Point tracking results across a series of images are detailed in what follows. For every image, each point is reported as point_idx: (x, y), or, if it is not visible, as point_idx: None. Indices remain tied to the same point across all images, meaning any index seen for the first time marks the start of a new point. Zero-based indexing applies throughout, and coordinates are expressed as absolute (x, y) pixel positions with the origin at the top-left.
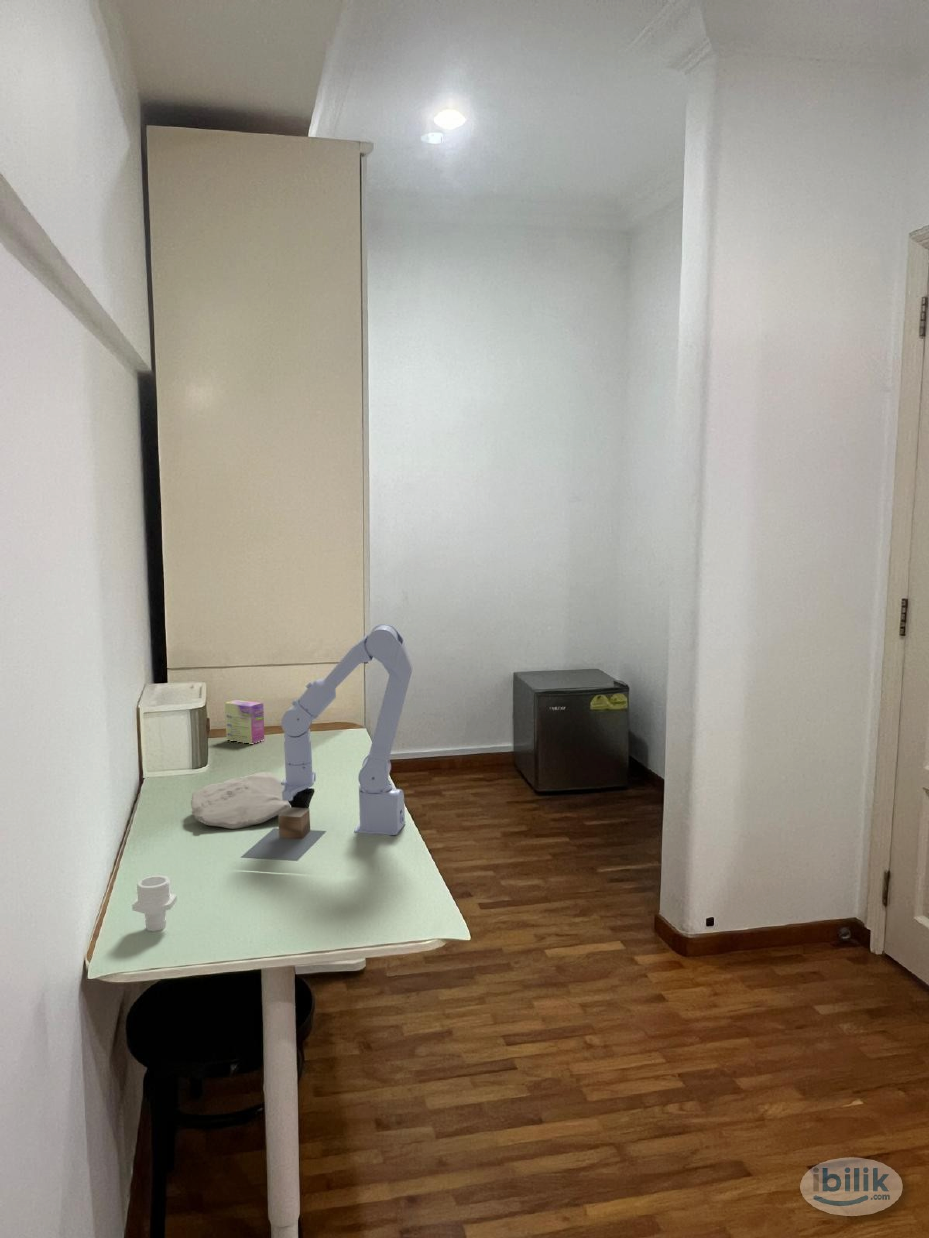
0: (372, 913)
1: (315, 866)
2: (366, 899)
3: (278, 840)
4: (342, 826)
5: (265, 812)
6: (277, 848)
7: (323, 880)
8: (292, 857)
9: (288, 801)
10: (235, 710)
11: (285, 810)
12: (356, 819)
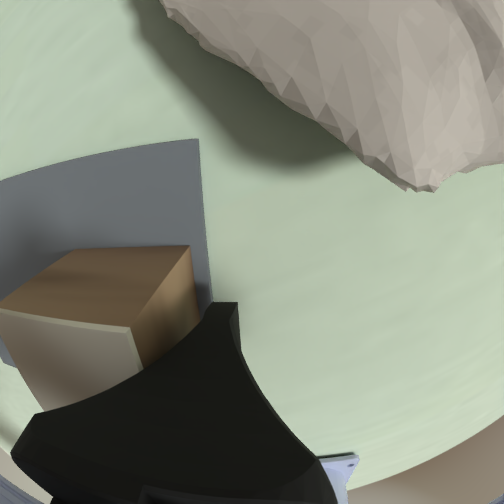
0: (5, 440)
1: (19, 395)
2: (15, 442)
3: (54, 258)
4: (306, 426)
5: (254, 19)
6: (10, 287)
7: (3, 405)
8: (4, 348)
9: (94, 395)
10: None
11: (58, 337)
12: (381, 431)
